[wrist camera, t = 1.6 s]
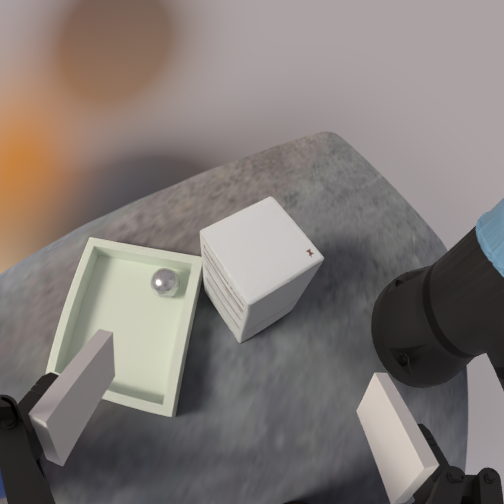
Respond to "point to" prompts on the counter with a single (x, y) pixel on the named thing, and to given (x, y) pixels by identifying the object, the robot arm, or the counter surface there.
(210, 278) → the supplement box
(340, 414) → the counter surface
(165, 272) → the ball
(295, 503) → the coffee mug
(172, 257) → the tray
